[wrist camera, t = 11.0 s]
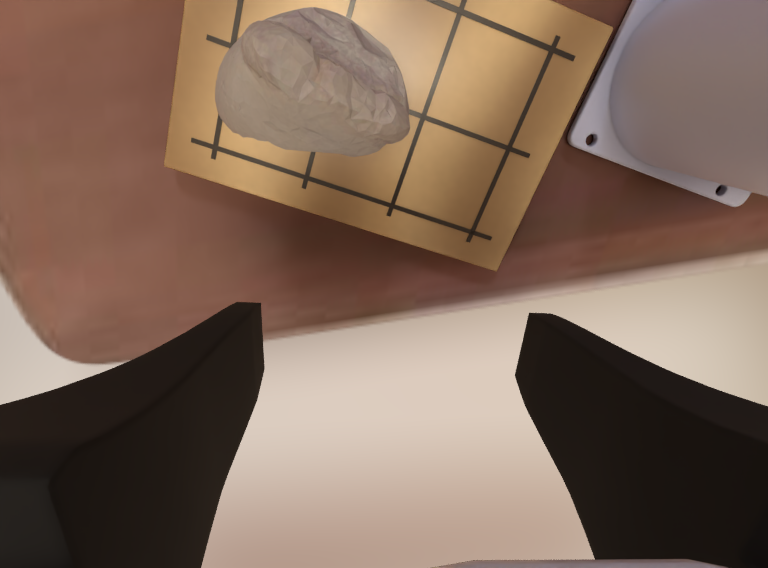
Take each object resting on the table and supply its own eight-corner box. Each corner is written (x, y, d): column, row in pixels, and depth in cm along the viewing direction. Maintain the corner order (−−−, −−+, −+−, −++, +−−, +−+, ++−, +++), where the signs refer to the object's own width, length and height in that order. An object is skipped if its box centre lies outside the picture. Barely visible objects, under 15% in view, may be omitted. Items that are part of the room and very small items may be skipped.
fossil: (257, 124, 18) (139, 160, 9) (251, 28, 16) (102, -50, 7) (396, 132, 18) (421, 174, 9) (401, 38, 17) (439, -25, 8)
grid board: (602, 30, 18) (615, 27, 17) (491, 264, 22) (497, 272, 21) (213, -139, 15) (202, -154, 14) (172, 162, 19) (162, 166, 18)
